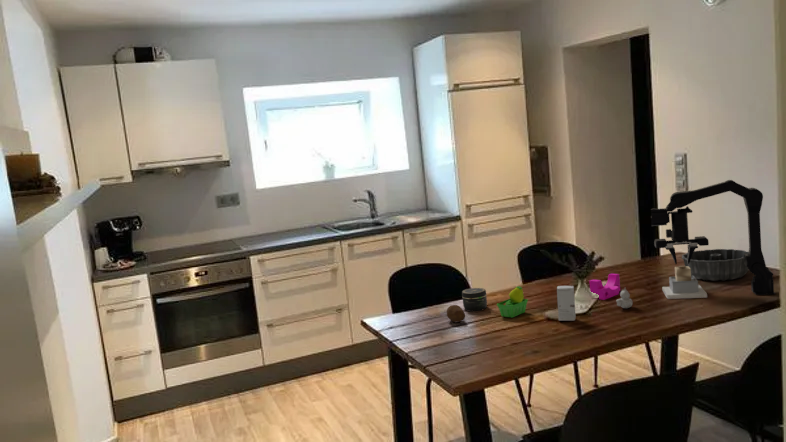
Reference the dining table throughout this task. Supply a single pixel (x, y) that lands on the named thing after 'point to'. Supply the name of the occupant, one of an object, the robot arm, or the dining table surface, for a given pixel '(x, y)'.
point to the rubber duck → (624, 299)
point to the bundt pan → (717, 264)
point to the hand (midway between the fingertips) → (682, 263)
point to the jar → (474, 299)
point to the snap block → (683, 273)
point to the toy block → (606, 287)
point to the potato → (455, 313)
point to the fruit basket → (513, 304)
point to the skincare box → (566, 303)
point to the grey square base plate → (684, 289)
